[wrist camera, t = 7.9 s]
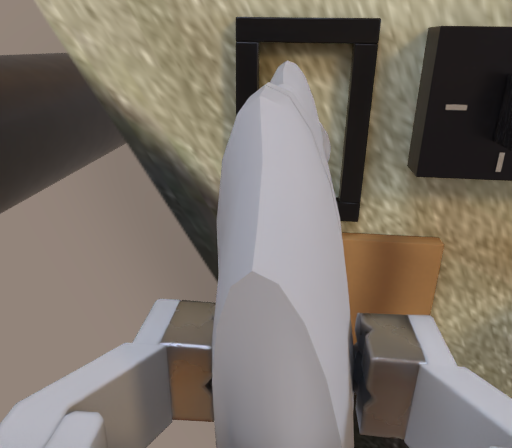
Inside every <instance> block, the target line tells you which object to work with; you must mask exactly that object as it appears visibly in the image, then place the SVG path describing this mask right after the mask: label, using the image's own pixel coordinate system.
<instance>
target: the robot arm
mask: <svg viewBox="0 0 512 448" xmlns="http://www.w3.org/2000/svg"><path fill="white" fill-rule="evenodd" d="M215 305H216V303H211V302H198V301H187V300H182V301H181V300H176V299H158V300H157V301H156V302H155V303H154V305H153V307H152V309H151V311H150V312H149V314H148V316H147V318H146V319H145V321H144V323H143V324H142V326H141V328H140V330H139V332H138V333H137V335H136V337H135V339H134V341H133V342H132V343H124V344H122V345H120V346H119V347H117V348H115V349H113V350H111V351H109V352H108V353H106V354H104V355H102V356H101V357H99V358H97V359H95V360H93V361H92V362H90V363H88V364H86V365H84V366H82V367H81V368H79V369H77V370H75V371H74V372H72V373H70V374H68V375H67V376H64V377H63V378H61V379H59V380H57V381H56V382H54V383H52V384H50V385H48V386H47V387H45V388H43V389H41V390H39V391H37V392H36V393H34V394H32V395H30V396H28V397H27V398H25V399H23V400H21V401H19V402H18V403H16V404H15V405H14V407H13V408H12V409H11V410H10V412H9V413H8V414H7V416H6V417H5V418H4V419H3V421H2V422H1V423H0V448H146V447H147V446H148V445H149V444H150V443H151V442H152V441H153V440H154V439H155V438H156V437H157V436H158V435H159V434H160V433H161V432H163V430H165V428H167V426H169V425H170V424H171V423H172V420H190V421H208V422H214V406H213V391H212V334H213V325H214V315H215ZM355 334H356V339H357V342H356V343H355V344H354V345H353V347H354V371H353V391H354V392H355V393H356V394H357V401H356V413H357V419H358V425H359V431H360V434H362V435H371V436H379V437H388V438H397V439H405V440H404V442H405V443H406V444H407V445H408V446H409V448H512V398H510V397H509V396H507V395H506V394H504V393H503V392H501V391H500V390H498V389H497V388H495V387H494V386H493V385H491V384H490V383H488V382H487V381H485V380H484V379H482V378H481V377H479V376H478V375H476V374H475V373H473V372H472V371H471V370H469V369H468V368H466V367H459V366H457V364H456V362H455V360H454V358H453V356H452V354H451V352H450V350H449V348H448V346H447V344H446V342H445V340H444V338H443V336H442V334H441V332H440V330H439V328H438V326H437V325H436V323H435V321H434V319H433V317H431V316H430V315H398V314H375V313H357V317H356V323H355Z"/></svg>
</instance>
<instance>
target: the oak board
mask: <svg viewBox="0 0 512 448" xmlns="http://www.w3.org/2000/svg"><path fill="white" fill-rule="evenodd" d="M342 240H343V248H344V258H345V266H346V275H347V283H348V294H349V304H350V315H351V326H352V336H353V345H354V344H355V343H356V342H357V339H356V334H355V323H356V317H357V313H375V314H398V315H430V314H431V309H432V304H433V299H434V294H435V289H436V284H437V279H438V274H439V269H440V264H441V259H442V254H443V249H444V244H443V243H442V241H441V240H440V238H435V237H416V236H397V235H379V234H360V233H342Z"/></svg>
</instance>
